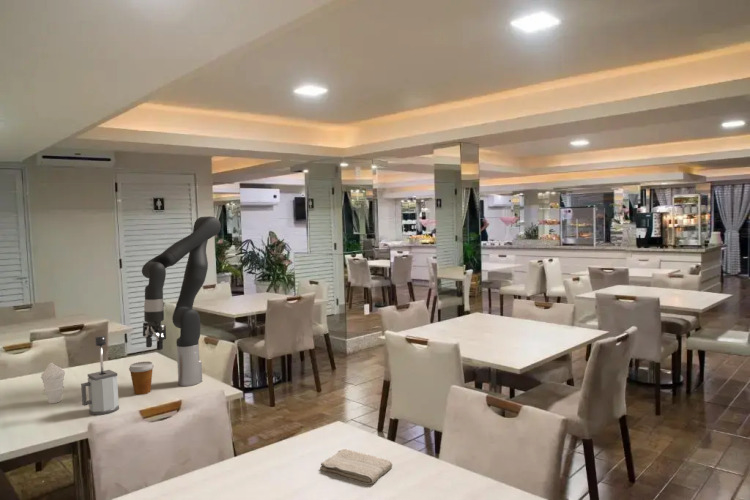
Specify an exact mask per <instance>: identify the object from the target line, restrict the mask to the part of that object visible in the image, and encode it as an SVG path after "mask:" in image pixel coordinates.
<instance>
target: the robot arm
mask: <svg viewBox="0 0 750 500" xmlns="http://www.w3.org/2000/svg"><path fill="white" fill-rule="evenodd" d="M221 225H222V224H221V221H220V220H219V219H218V218H217V217H214V216H211V215H210V216H200V217H198V218H197V219H196V220H195V222H194V224H193V228H192V233H190V234H189V235H187V236H185V237H183V238H182V239H180V240H178V241H176V242H174V243H173V244H172V245H170V246H169V247H168V248H166V249H164V251H163V252H161V253H160V254H158V255H157V256H155V257H153V258H151V259H149V260H148V261H147V262H145V263H144V264H143V266H142V268H141V274H142V275H143V276H144V278H147V279H149V280H148V285H145V288H144V305H143V306H144V307H143V310H144V311H143V317H144V318H143V320H144V322H143V323H142V336H143V337H144V338H145V346H146V348H151V347H152V346H153V337H154V338H155V339H156V350H157V351H161V350H163V349H164V345H163V343H164V342H163V341H164V340H166V339H167V329H166V328H167V327H166V324H162V322H163V321H164V320H165V318H164V317H165V316H164V315H165V312H164V311H165V306H164V305H165V303H164V286H165V282H166V281H165V280H166V274H167V271H166V268H169V267H173V266H175V264H178V262H179V261H181V260H182V259H184V257H186V255H188V257H187V261H186V265H185V269H184V274H183V280H182V283H181V287H180V291H179V292H180V293H179V296H178V299H177V301H176V306H175V308H174V310H173V314H172V318H171V319H172V324H173V325H174V327H176V328H178V329H180V330H179V331H180V333H179V334H180V336H179V337H178V338H177V339H176V343H175V344H176V357H177V381H178V384H177V385H179V386H183V387H187V386H188V387H189V386H195V385H197V384H200V383H202V382H203V368H202V367H203V366H202V360H201V359H200V347H199V346H200V344H199V343H200V338H201V316H200V313H199V312H198V311H197V310H195V309H194V308H193V307H194V304H195V303H194V302H195V299H196V297H197V295H198V293H199V292H200V290H201V288H202V287H203V285H204V283H205V281H206V278H207V273H208V269H209V268H208V267H209V265H208V264H209V262H208V257H207V256H208V255H207V244H208V241H209V240H210V239H211V238H213V237H215V236H217V235H218V234H219V233H220V231H221V228H222V226H221Z"/></svg>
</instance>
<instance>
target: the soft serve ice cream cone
mask: <svg viewBox="0 0 750 500" xmlns="http://www.w3.org/2000/svg"><path fill="white" fill-rule="evenodd" d="M65 375H66V372H65V370H64V369H63V368H62V367H60V366H58V365H56V364H54V362H50V363H48V364H47V366H46V369H45V370H44V371H43V372H42V373H41V376H40V379H41V381H42V383H43V388H44V390H43V391H44V393H45V395H46V398H47V402H48V404H51V403H52V404H58V403H60V402H61V401H62V395H63V391H64V380H65ZM57 402H58V403H57Z"/></svg>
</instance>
